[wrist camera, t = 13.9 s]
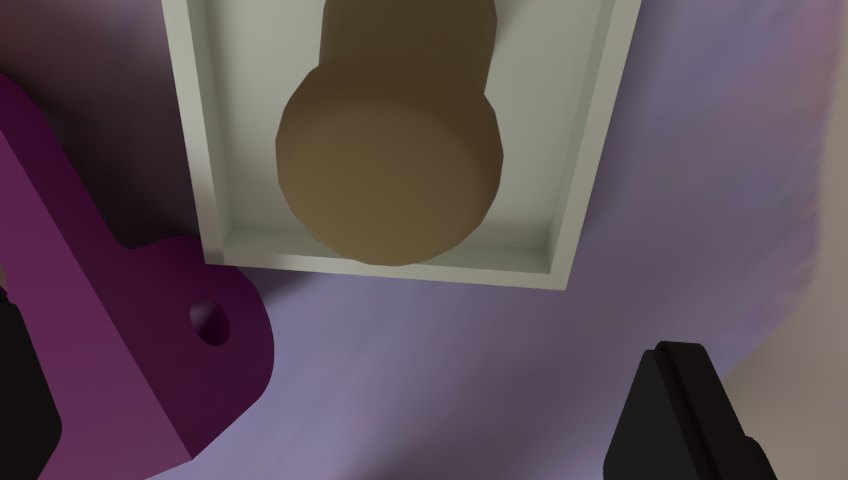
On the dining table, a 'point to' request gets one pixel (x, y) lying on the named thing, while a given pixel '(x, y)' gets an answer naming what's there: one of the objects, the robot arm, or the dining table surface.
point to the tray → (505, 90)
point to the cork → (394, 130)
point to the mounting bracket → (120, 318)
